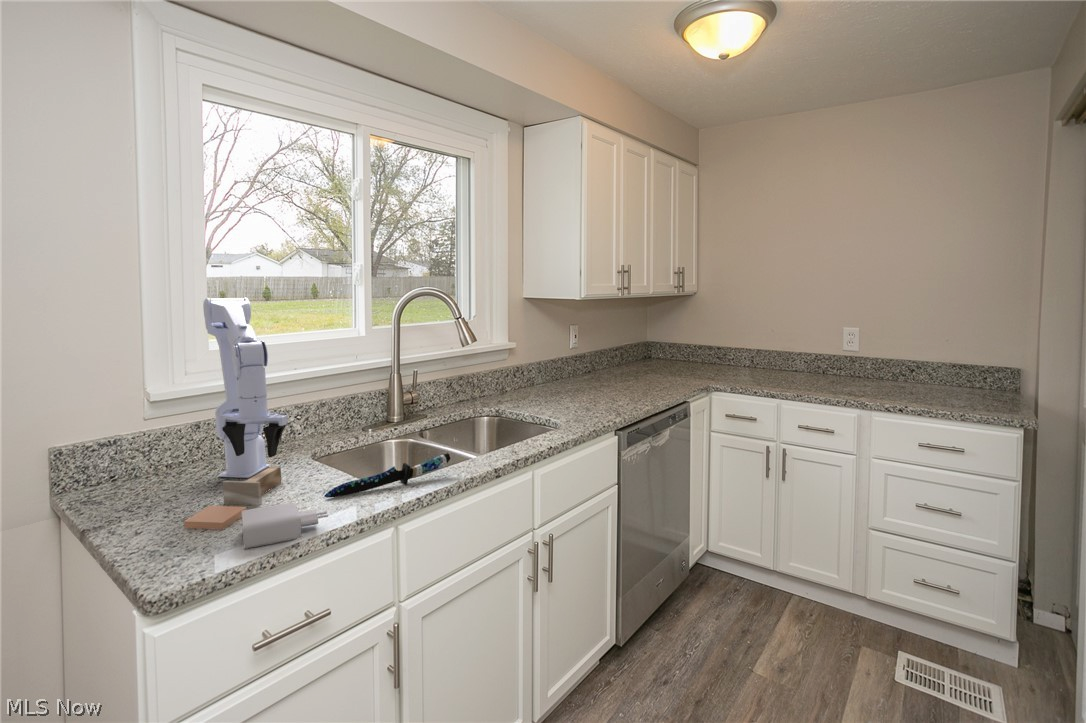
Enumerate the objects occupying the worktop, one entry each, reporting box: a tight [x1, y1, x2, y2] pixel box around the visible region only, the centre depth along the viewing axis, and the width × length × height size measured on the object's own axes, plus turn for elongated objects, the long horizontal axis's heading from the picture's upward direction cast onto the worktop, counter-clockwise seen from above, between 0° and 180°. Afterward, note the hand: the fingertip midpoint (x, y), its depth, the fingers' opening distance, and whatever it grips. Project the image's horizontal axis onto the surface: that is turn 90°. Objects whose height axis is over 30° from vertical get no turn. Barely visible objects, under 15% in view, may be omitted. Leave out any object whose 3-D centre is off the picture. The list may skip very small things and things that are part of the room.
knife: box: [324, 453, 451, 499], centre depth 137 cm, size 31×3×4 cm, turn 120°
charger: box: [241, 502, 329, 550], centre depth 112 cm, size 5×9×15 cm
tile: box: [183, 505, 248, 530], centre depth 117 cm, size 2×8×8 cm
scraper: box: [222, 465, 282, 506], centre depth 132 cm, size 14×8×5 cm, turn 175°
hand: (256, 455), depth 131 cm, fingers open, 7 cm apart
